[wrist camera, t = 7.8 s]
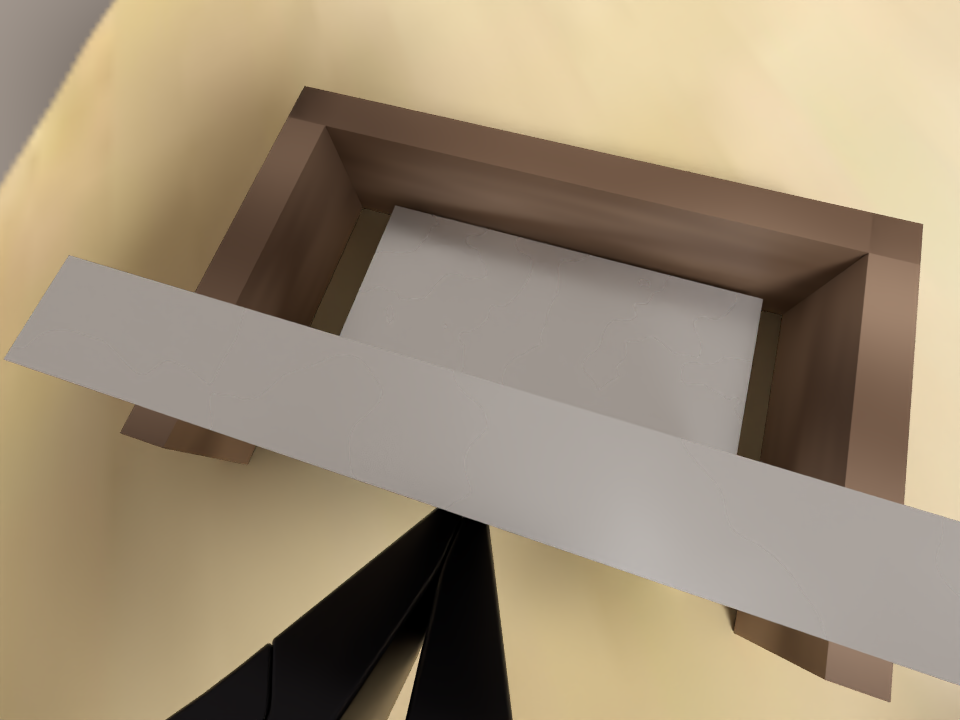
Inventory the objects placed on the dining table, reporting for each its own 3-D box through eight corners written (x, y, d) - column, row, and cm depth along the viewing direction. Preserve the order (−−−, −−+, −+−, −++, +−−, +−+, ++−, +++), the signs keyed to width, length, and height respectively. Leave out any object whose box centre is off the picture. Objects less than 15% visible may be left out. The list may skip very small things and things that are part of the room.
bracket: (692, 583, 14) (1100, 732, 4) (310, 454, 16) (4, 359, 6) (740, 318, 16) (1075, 38, 7) (404, 230, 18) (289, -96, 8)
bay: (778, 648, 13) (890, 702, 9) (214, 452, 16) (120, 433, 12) (824, 292, 16) (923, 224, 12) (345, 173, 19) (304, 86, 15)
